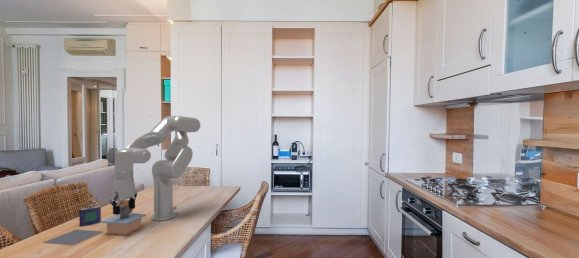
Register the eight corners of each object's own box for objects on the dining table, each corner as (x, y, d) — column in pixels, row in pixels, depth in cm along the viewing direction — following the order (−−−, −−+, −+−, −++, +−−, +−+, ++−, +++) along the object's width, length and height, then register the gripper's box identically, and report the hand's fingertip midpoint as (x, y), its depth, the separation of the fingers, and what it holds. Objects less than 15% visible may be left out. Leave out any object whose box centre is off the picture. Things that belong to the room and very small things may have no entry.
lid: (122, 214, 143) (122, 202, 143) (145, 215, 141) (145, 204, 141) (101, 222, 130) (101, 210, 130) (126, 224, 128) (126, 211, 128)
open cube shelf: (123, 227, 141) (123, 215, 141) (140, 228, 140) (140, 216, 139) (106, 234, 131) (106, 221, 131) (125, 236, 130) (125, 223, 130)
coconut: (120, 223, 157) (112, 209, 152) (116, 214, 164) (109, 201, 159) (137, 214, 162) (131, 200, 157) (134, 206, 169) (127, 193, 164)
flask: (100, 222, 149) (100, 202, 149) (101, 223, 147) (101, 203, 147) (78, 226, 142) (78, 205, 142) (80, 228, 140) (80, 206, 140)
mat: (76, 230, 137) (76, 229, 137) (104, 232, 134) (104, 231, 134) (41, 244, 121) (41, 242, 121) (73, 246, 118) (73, 245, 118)
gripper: (130, 172, 145) (130, 206, 145) (102, 178, 128) (102, 216, 128) (143, 172, 143) (143, 206, 143) (117, 179, 126) (117, 217, 126)
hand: (124, 211), depth 135 cm, fingers open, 9 cm apart
